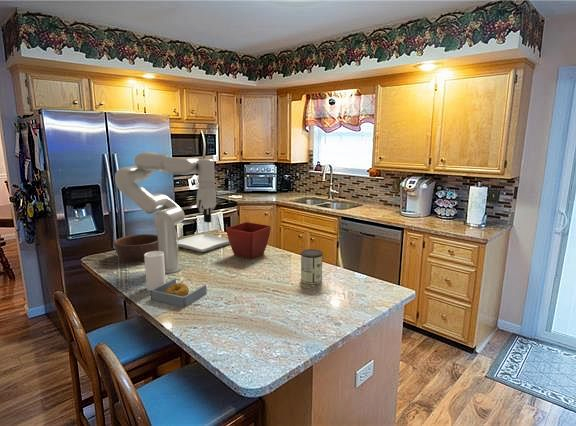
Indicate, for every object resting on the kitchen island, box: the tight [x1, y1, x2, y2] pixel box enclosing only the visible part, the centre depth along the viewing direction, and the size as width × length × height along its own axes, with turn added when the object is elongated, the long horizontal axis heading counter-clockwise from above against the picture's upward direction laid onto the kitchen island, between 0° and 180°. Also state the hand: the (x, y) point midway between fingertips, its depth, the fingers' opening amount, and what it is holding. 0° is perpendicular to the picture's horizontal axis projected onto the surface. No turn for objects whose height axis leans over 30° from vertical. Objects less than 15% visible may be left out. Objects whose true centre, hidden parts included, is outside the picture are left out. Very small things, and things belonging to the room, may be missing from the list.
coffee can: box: [300, 248, 324, 285], centre depth 175 cm, size 10×10×14 cm
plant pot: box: [225, 221, 272, 260], centre depth 213 cm, size 19×19×17 cm
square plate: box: [177, 233, 230, 253], centre depth 233 cm, size 27×27×4 cm
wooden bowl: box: [113, 233, 159, 263], centre depth 209 cm, size 25×25×10 cm
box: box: [149, 278, 208, 308], centre depth 157 cm, size 18×15×4 cm
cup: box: [144, 251, 167, 292], centre depth 165 cm, size 8×8×16 cm
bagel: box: [164, 282, 190, 297], centre depth 157 cm, size 10×11×5 cm
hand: (207, 221), depth 180 cm, fingers closed
